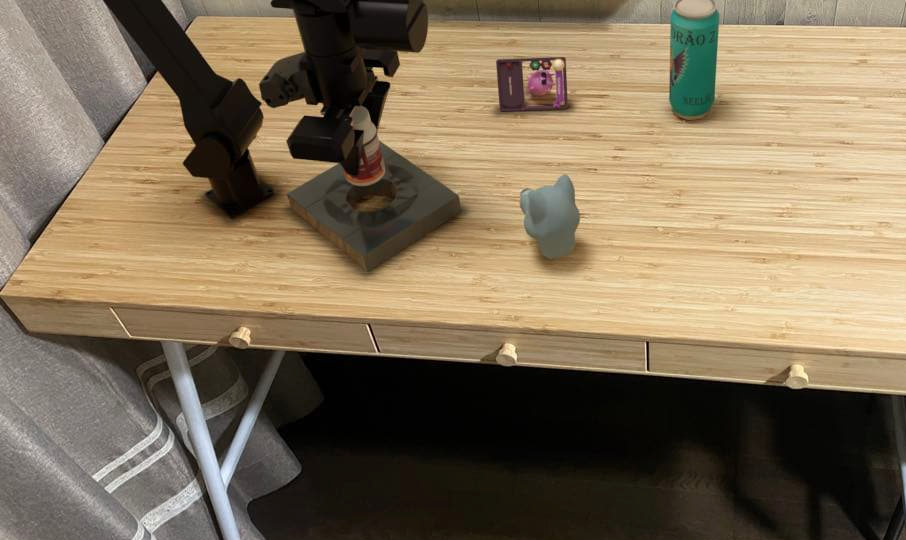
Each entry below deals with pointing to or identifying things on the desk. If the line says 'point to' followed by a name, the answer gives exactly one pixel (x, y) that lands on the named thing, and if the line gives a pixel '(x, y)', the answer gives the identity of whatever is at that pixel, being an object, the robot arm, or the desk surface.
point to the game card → (530, 82)
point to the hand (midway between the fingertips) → (361, 160)
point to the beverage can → (693, 57)
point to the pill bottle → (367, 151)
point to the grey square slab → (379, 230)
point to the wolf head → (551, 217)
